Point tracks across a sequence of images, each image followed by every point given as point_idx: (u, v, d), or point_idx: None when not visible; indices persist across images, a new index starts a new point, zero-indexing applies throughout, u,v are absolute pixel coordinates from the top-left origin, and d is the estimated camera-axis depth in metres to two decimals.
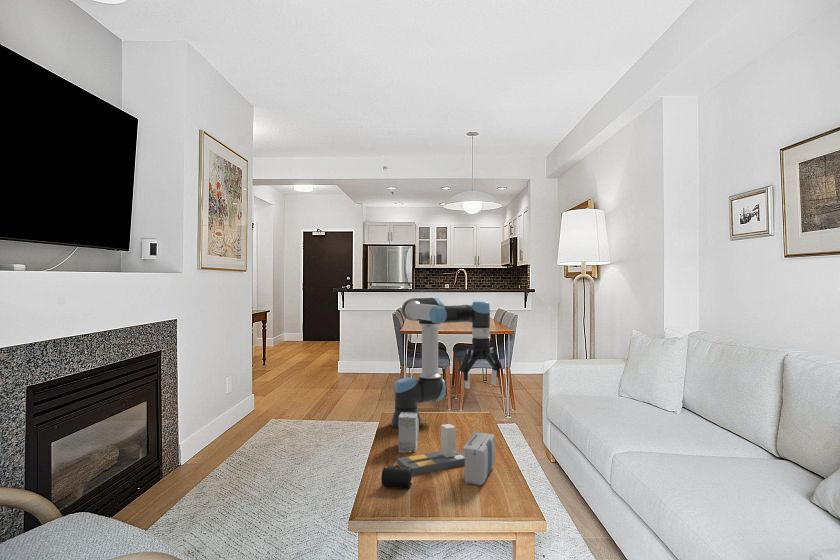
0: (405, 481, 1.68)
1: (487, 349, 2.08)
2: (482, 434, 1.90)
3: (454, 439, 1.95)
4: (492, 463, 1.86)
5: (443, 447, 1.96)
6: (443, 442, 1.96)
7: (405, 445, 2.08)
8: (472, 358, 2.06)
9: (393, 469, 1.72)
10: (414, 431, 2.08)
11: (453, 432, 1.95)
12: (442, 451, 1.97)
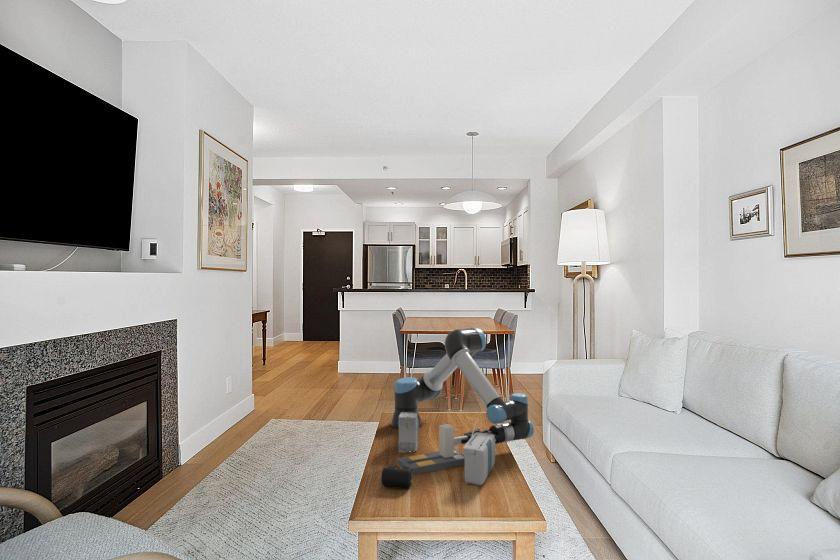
0: (405, 481, 1.68)
1: None
2: (482, 434, 1.90)
3: (452, 439, 1.94)
4: (492, 463, 1.86)
5: (442, 448, 1.95)
6: (441, 442, 1.95)
7: (405, 445, 2.08)
8: None
9: (393, 469, 1.72)
10: (414, 431, 2.08)
11: (451, 432, 1.94)
12: (440, 451, 1.96)
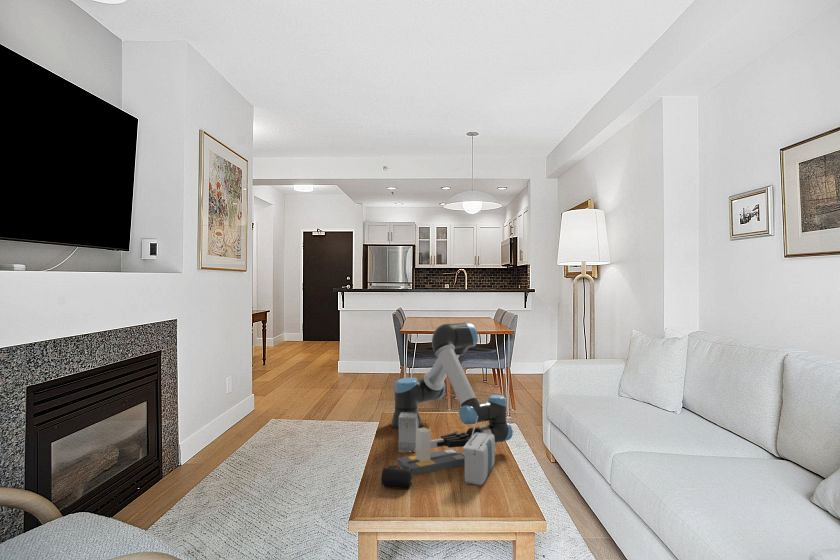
0: (405, 481, 1.68)
1: None
2: (482, 434, 1.90)
3: (429, 443, 1.90)
4: (492, 463, 1.86)
5: (418, 452, 1.91)
6: (418, 446, 1.91)
7: (405, 445, 2.08)
8: (460, 440, 1.96)
9: (393, 469, 1.72)
10: (414, 431, 2.08)
11: (428, 436, 1.90)
12: (417, 455, 1.92)
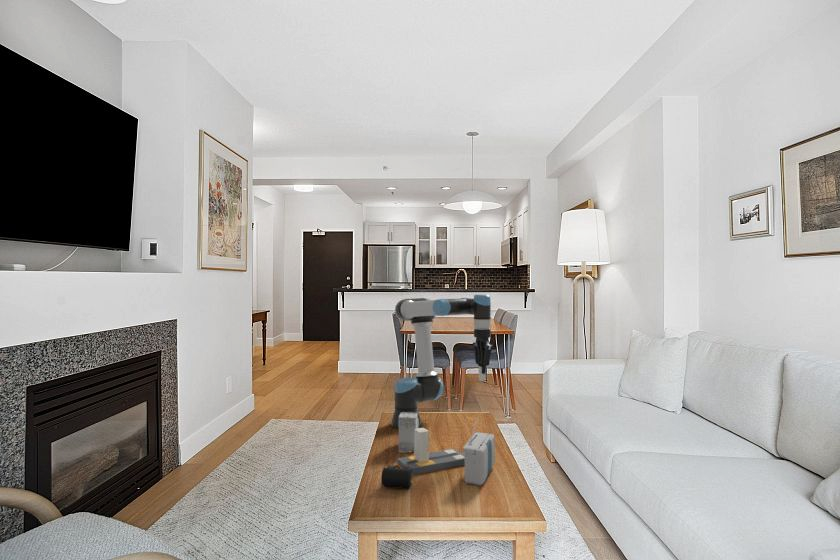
0: (405, 481, 1.68)
1: None
2: (482, 434, 1.90)
3: (427, 443, 1.90)
4: (492, 463, 1.86)
5: (417, 452, 1.90)
6: (416, 447, 1.91)
7: (405, 445, 2.08)
8: (484, 351, 2.17)
9: (393, 469, 1.72)
10: None
11: (426, 436, 1.89)
12: (415, 456, 1.91)
